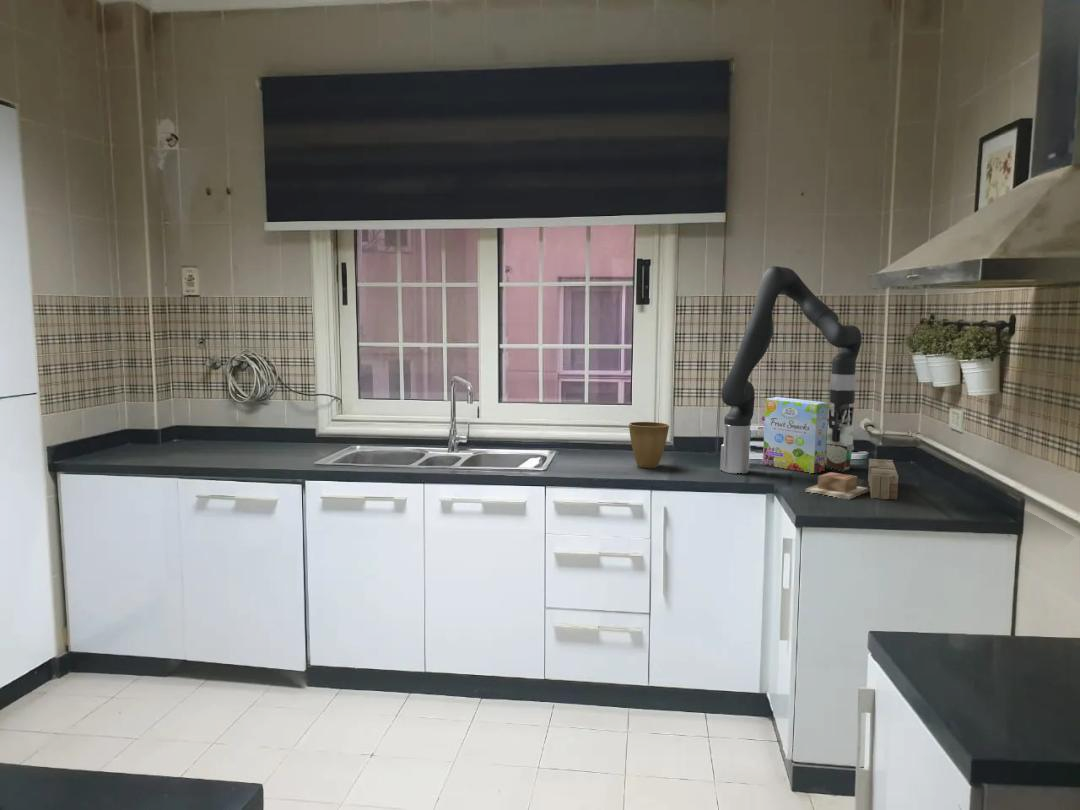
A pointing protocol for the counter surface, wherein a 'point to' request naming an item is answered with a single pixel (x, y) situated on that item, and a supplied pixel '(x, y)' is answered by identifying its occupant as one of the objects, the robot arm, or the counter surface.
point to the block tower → (882, 479)
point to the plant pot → (648, 442)
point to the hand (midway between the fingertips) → (839, 440)
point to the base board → (838, 494)
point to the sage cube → (842, 435)
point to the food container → (839, 456)
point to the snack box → (795, 434)
